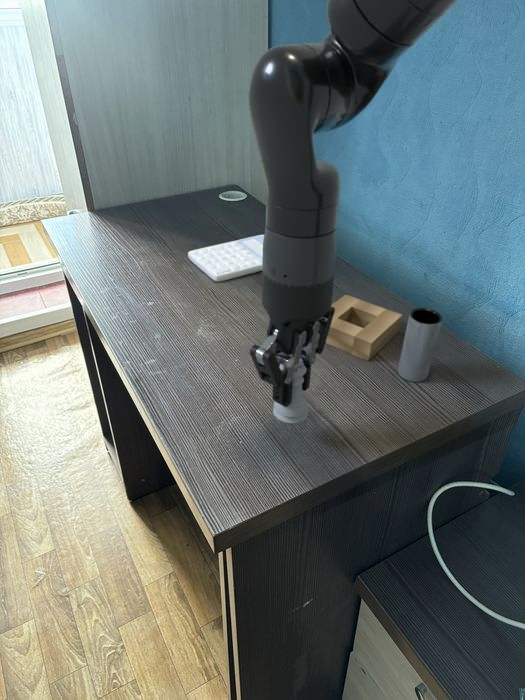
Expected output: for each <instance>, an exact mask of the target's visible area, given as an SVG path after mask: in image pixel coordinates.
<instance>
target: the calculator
mask: <svg viewBox="0 0 525 700" xmlns="http://www.w3.org/2000/svg"><path fill="white" fill-rule="evenodd" d="M263 240H264V234H259V235H253V236H248V237H245V238H240V239H237V240H232V241H228V242H227V241H226V242H223V243H219V244H214V245H210V246H205V247H201V248H197V249H196V248H195V249H193V250H190V251H188V252H187V258H188V259H189V260H190V261H191V262H192V263H193V264H194V265H195V266H197V267H198V268H199V269H200V270H201V271H202V272H204V273H205V274H206V275H207V276H208V277H209V278H210V279H211V280H213V281H215V282H219V283H220V282H224V281H227V280H233V279H235V278H240V277H242V276H243V277H244V276H247V275H250V274H255V273H259V272H262V263H263Z"/></svg>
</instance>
